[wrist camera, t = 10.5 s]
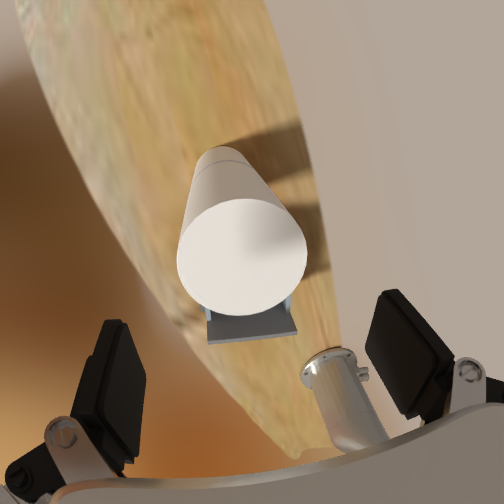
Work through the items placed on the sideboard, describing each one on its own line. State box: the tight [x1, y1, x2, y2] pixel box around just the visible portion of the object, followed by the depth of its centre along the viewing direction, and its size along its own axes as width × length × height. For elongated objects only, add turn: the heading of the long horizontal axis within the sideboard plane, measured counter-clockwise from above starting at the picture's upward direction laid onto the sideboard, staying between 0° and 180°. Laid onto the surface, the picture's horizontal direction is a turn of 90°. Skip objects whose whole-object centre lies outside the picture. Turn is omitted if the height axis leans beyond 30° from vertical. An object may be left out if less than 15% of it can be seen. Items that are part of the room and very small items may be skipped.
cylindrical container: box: [176, 146, 307, 316], centre depth 27 cm, size 7×7×25 cm
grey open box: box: [200, 294, 297, 344], centre depth 39 cm, size 12×13×12 cm
